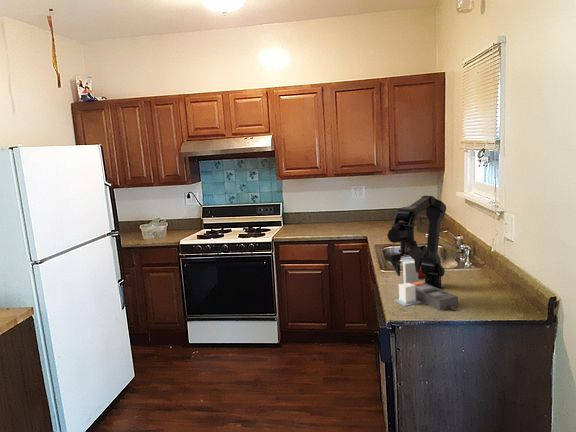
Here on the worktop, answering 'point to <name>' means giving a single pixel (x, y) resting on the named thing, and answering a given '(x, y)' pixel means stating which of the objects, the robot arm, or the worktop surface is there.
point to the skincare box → (409, 272)
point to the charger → (407, 293)
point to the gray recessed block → (435, 296)
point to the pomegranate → (420, 273)
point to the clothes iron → (422, 224)
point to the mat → (407, 303)
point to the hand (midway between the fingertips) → (408, 274)
